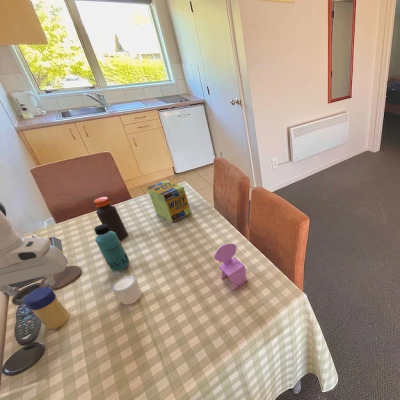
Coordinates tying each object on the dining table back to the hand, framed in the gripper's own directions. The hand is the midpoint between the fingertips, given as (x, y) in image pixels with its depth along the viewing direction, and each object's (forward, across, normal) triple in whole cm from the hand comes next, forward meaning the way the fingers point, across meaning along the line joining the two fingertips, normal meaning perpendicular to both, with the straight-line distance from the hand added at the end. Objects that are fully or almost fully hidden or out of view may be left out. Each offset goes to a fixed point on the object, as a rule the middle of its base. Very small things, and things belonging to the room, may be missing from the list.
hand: (33, 289), depth 77 cm
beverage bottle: (+15, +14, +19) cm, 28 cm away
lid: (+5, 0, 0) cm, 5 cm away
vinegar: (+15, +9, +42) cm, 45 cm away
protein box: (+15, +31, +54) cm, 64 cm away
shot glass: (+15, +20, +1) cm, 25 cm away
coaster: (+14, -6, +22) cm, 27 cm away
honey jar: (+14, 0, 0) cm, 14 cm away
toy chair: (+15, +54, -5) cm, 56 cm away
